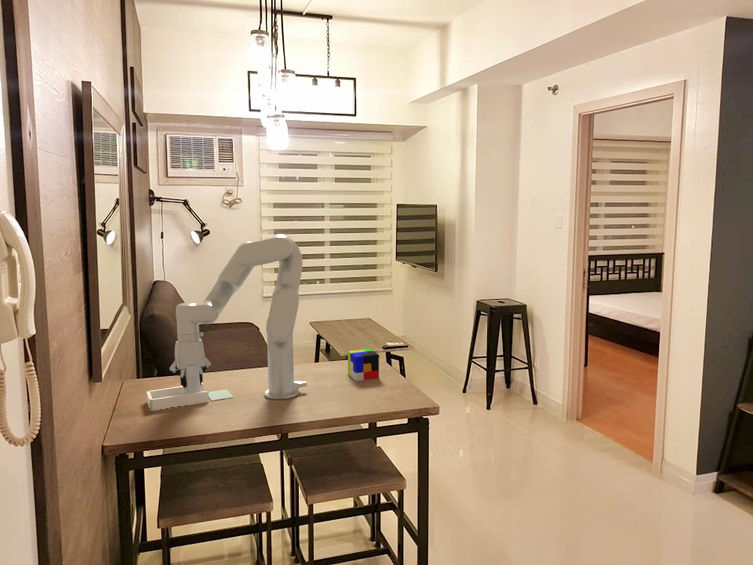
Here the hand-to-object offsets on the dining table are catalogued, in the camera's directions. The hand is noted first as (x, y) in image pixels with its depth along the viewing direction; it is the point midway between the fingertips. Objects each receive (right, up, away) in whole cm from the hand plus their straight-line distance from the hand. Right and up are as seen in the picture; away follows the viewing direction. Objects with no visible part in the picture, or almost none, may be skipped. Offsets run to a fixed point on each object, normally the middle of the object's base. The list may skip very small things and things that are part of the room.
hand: (191, 385), depth 216 cm
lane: (-5, -6, -1) cm, 8 cm away
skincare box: (0, -4, +1) cm, 4 cm away
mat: (+9, -5, +5) cm, 11 cm away
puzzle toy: (+62, -1, +28) cm, 68 cm away
